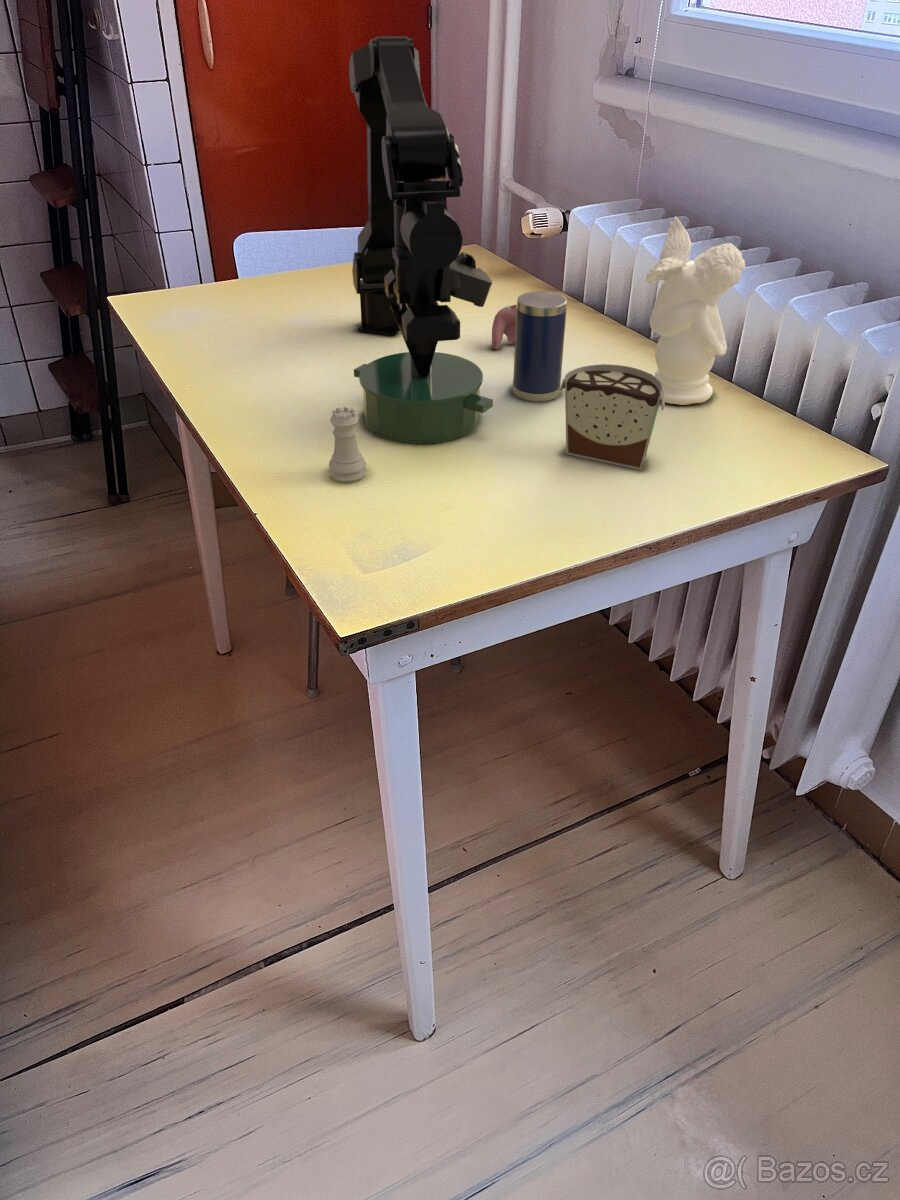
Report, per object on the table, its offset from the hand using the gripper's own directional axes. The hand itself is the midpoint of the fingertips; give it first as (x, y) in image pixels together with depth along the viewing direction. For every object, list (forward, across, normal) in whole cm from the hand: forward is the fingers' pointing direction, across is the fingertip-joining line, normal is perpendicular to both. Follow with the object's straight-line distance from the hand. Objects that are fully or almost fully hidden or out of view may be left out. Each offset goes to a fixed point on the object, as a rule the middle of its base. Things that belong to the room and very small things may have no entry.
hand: (421, 370), depth 118 cm
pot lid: (+1, 0, 0) cm, 1 cm away
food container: (+7, -13, -21) cm, 26 cm away
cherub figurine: (+7, +1, -34) cm, 35 cm away
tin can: (+6, +5, -17) cm, 19 cm away
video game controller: (+7, +22, -20) cm, 30 cm away
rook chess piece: (+7, -13, +11) cm, 19 cm away
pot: (+6, 0, 0) cm, 6 cm away
